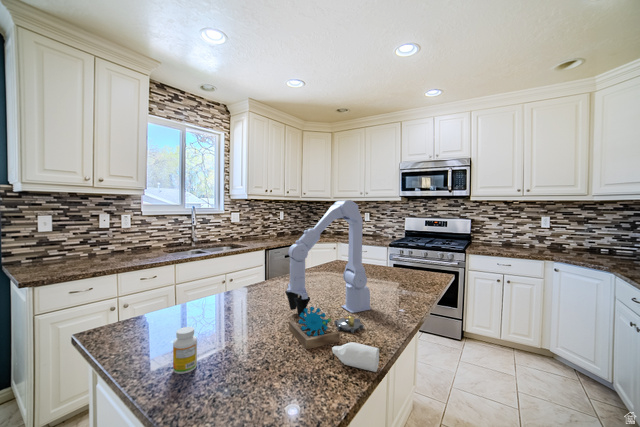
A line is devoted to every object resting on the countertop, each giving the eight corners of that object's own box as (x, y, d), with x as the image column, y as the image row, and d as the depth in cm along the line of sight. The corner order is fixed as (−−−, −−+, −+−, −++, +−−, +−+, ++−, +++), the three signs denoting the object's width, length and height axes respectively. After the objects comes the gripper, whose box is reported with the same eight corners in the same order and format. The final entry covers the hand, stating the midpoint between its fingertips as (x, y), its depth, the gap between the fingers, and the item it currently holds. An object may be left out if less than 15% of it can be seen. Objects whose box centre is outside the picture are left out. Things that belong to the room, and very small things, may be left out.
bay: (318, 323, 98) (318, 316, 98) (339, 341, 85) (339, 332, 85) (288, 329, 93) (288, 321, 93) (306, 349, 80) (306, 340, 80)
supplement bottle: (178, 362, 73) (178, 325, 72) (200, 361, 73) (200, 325, 73) (169, 375, 67) (169, 335, 67) (192, 374, 68) (192, 334, 68)
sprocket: (332, 321, 100) (333, 308, 100) (357, 320, 101) (357, 307, 101) (339, 333, 90) (339, 320, 90) (366, 332, 91) (366, 318, 91)
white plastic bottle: (335, 354, 78) (336, 334, 78) (379, 364, 73) (379, 343, 73) (328, 365, 72) (328, 344, 72) (374, 377, 68) (375, 354, 67)
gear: (301, 336, 85) (298, 305, 92) (295, 343, 89) (293, 313, 95) (334, 335, 88) (329, 306, 95) (327, 342, 92) (323, 313, 99)
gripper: (280, 273, 108) (280, 308, 109) (294, 282, 95) (294, 321, 96) (297, 271, 112) (297, 305, 112) (313, 280, 99) (312, 318, 99)
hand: (297, 312), depth 104 cm, fingers open, 7 cm apart
